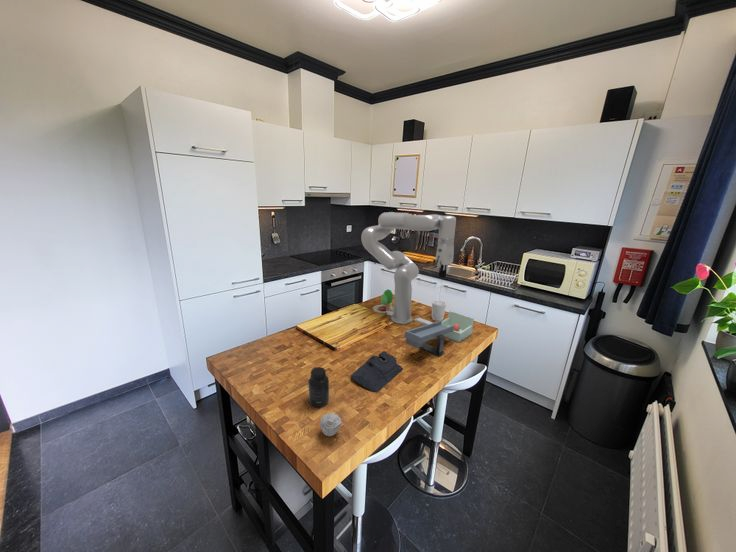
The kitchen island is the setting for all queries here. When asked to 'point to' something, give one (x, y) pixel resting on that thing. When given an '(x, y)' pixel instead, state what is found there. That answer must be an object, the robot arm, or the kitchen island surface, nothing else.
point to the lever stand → (433, 350)
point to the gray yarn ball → (330, 424)
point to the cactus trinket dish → (385, 302)
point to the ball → (456, 327)
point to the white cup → (438, 310)
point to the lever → (426, 332)
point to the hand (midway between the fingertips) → (442, 277)
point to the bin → (462, 321)
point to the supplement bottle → (318, 387)
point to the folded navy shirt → (377, 372)
